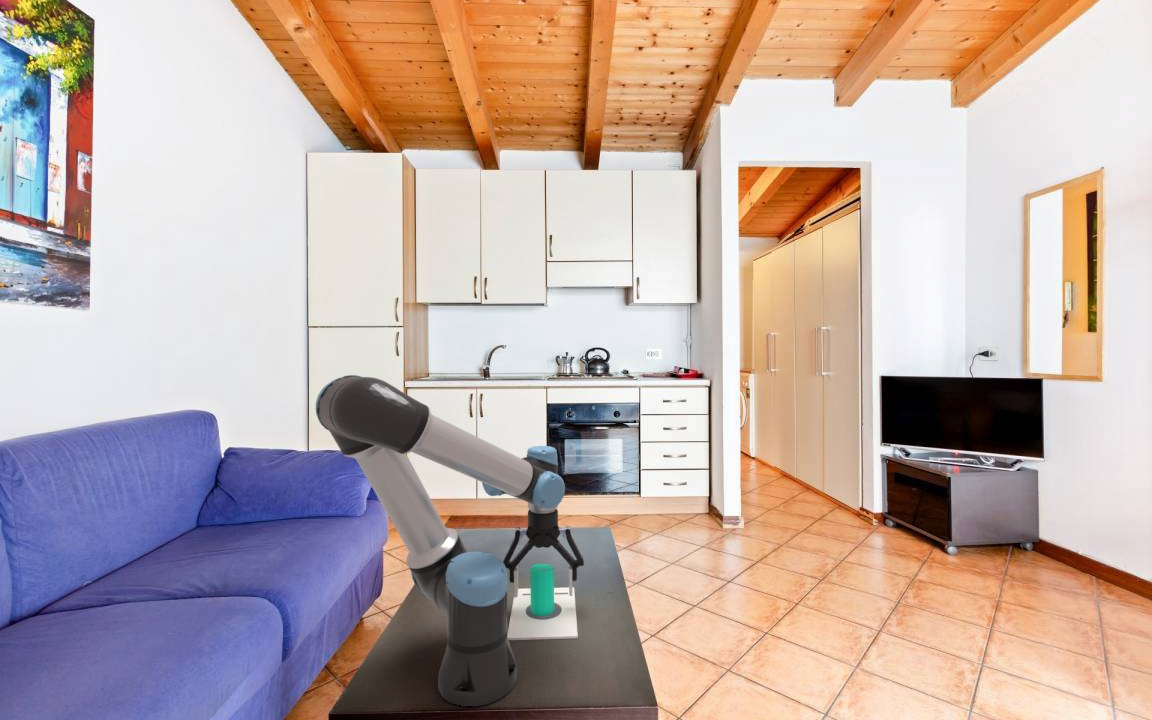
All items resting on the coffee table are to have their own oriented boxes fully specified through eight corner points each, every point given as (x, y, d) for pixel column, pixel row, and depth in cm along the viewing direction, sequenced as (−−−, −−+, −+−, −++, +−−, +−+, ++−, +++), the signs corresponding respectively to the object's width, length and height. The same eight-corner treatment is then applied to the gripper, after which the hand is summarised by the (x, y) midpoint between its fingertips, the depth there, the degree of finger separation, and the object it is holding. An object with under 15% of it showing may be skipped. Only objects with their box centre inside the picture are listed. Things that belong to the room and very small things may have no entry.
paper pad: (577, 638, 113) (577, 635, 113) (506, 640, 112) (506, 637, 112) (574, 589, 137) (574, 587, 137) (515, 590, 136) (515, 588, 136)
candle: (551, 617, 121) (550, 567, 121) (527, 614, 122) (526, 566, 122) (557, 605, 127) (556, 558, 127) (534, 603, 128) (533, 556, 128)
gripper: (490, 514, 120) (491, 602, 120) (593, 512, 121) (594, 600, 121) (494, 505, 128) (495, 588, 128) (591, 503, 129) (592, 585, 129)
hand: (543, 594), depth 125 cm, fingers open, 13 cm apart
